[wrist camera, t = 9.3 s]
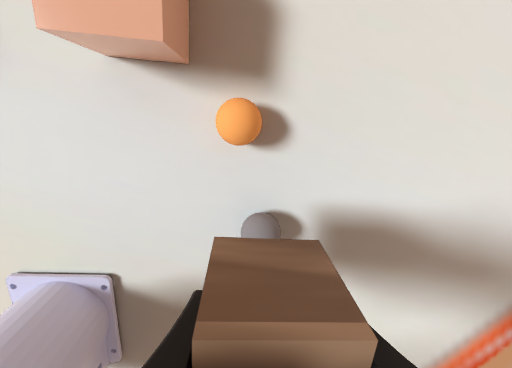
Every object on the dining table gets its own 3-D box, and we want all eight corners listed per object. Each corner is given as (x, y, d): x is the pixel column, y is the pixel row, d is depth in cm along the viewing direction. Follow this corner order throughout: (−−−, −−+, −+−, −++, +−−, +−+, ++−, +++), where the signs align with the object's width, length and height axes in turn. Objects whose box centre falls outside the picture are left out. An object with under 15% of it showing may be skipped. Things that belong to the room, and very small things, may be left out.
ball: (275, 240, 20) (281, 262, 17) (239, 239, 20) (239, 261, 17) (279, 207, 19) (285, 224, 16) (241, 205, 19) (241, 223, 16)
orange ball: (258, 143, 18) (262, 150, 15) (217, 140, 17) (212, 147, 14) (261, 100, 17) (265, 98, 14) (218, 97, 16) (213, 94, 14)
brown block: (305, 321, 14) (345, 455, 8) (212, 321, 13) (193, 460, 8) (318, 240, 12) (378, 340, 7) (214, 236, 12) (191, 340, 6)
